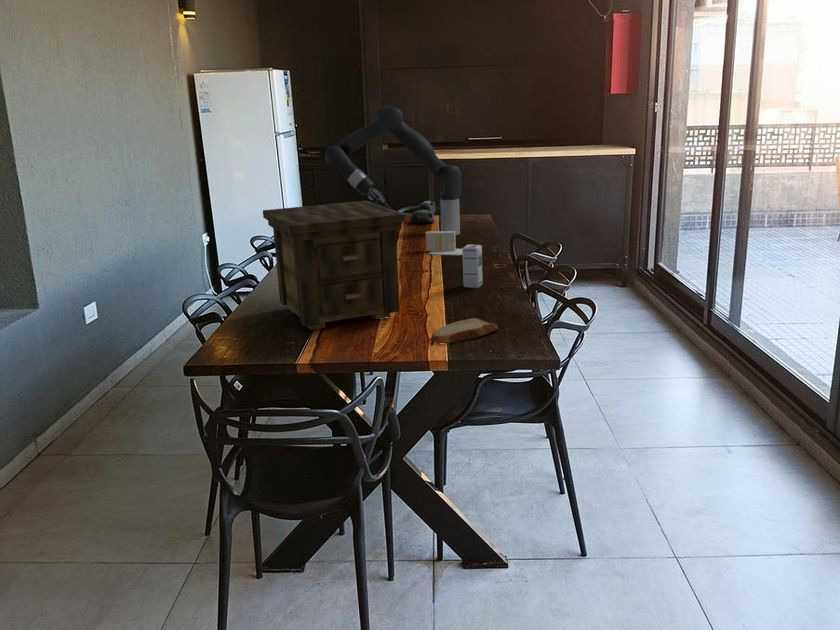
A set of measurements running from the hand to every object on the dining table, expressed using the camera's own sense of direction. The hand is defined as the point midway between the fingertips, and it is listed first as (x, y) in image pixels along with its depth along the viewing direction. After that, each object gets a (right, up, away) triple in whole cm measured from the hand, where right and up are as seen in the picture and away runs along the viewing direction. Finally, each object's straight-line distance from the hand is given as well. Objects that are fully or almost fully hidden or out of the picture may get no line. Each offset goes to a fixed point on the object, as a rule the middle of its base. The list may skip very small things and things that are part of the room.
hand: (388, 209), depth 320 cm
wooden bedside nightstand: (-13, -46, -85) cm, 97 cm away
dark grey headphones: (+15, +3, +73) cm, 75 cm away
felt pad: (+28, -19, -2) cm, 33 cm away
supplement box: (+16, -14, +1) cm, 21 cm away
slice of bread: (+27, -52, -110) cm, 124 cm away
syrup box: (+33, -36, -58) cm, 75 cm away
